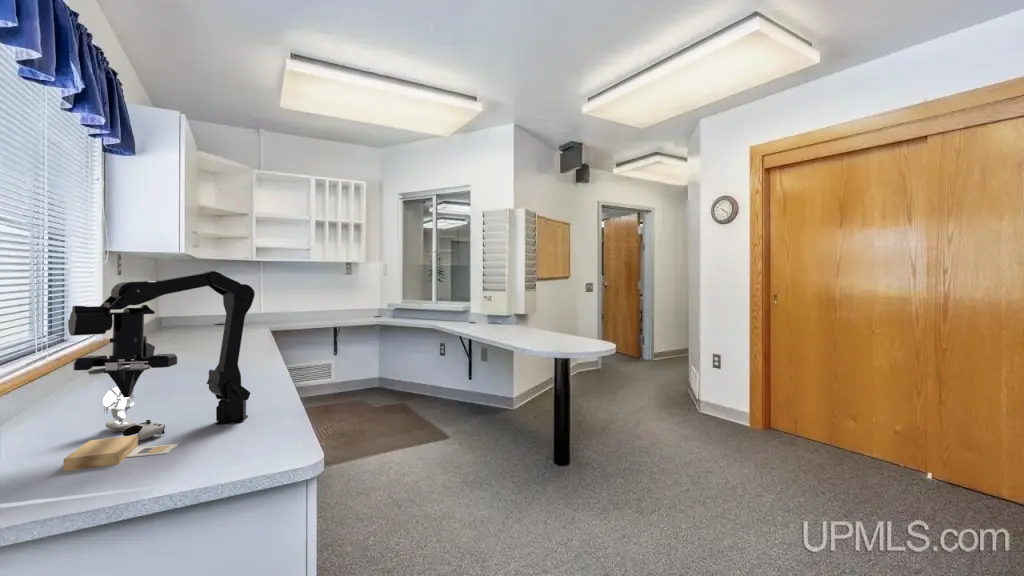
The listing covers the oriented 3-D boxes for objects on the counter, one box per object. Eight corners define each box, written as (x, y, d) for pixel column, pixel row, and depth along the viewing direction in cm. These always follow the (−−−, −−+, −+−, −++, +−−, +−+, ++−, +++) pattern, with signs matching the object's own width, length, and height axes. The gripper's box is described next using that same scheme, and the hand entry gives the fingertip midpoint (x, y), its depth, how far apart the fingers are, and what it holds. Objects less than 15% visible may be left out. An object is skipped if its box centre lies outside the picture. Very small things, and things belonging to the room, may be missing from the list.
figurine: (140, 430, 121) (140, 386, 121) (110, 437, 115) (110, 390, 115) (125, 425, 125) (125, 382, 125) (95, 431, 120) (96, 387, 120)
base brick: (137, 447, 109) (137, 435, 109) (118, 465, 97) (118, 452, 97) (89, 453, 105) (89, 440, 105) (63, 473, 93) (63, 458, 93)
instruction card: (178, 445, 109) (178, 443, 109) (167, 453, 103) (167, 451, 103) (138, 448, 106) (138, 447, 106) (125, 457, 101) (125, 455, 101)
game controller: (118, 432, 114) (139, 412, 118) (135, 444, 117) (155, 424, 121) (136, 437, 109) (158, 416, 113) (154, 449, 112) (174, 428, 116)
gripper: (186, 330, 119) (185, 388, 119) (101, 331, 114) (100, 392, 113) (167, 333, 108) (166, 397, 108) (72, 334, 103) (71, 402, 103)
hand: (126, 397), depth 108 cm, fingers closed
